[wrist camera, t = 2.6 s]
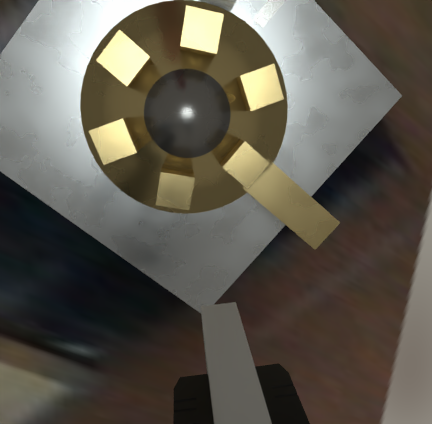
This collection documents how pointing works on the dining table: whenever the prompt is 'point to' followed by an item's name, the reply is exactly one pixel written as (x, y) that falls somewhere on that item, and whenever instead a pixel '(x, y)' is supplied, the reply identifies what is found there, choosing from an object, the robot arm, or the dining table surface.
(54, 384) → the dining table surface
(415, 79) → the dining table surface
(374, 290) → the dining table surface
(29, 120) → the flange plate
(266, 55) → the gold knob with handle
